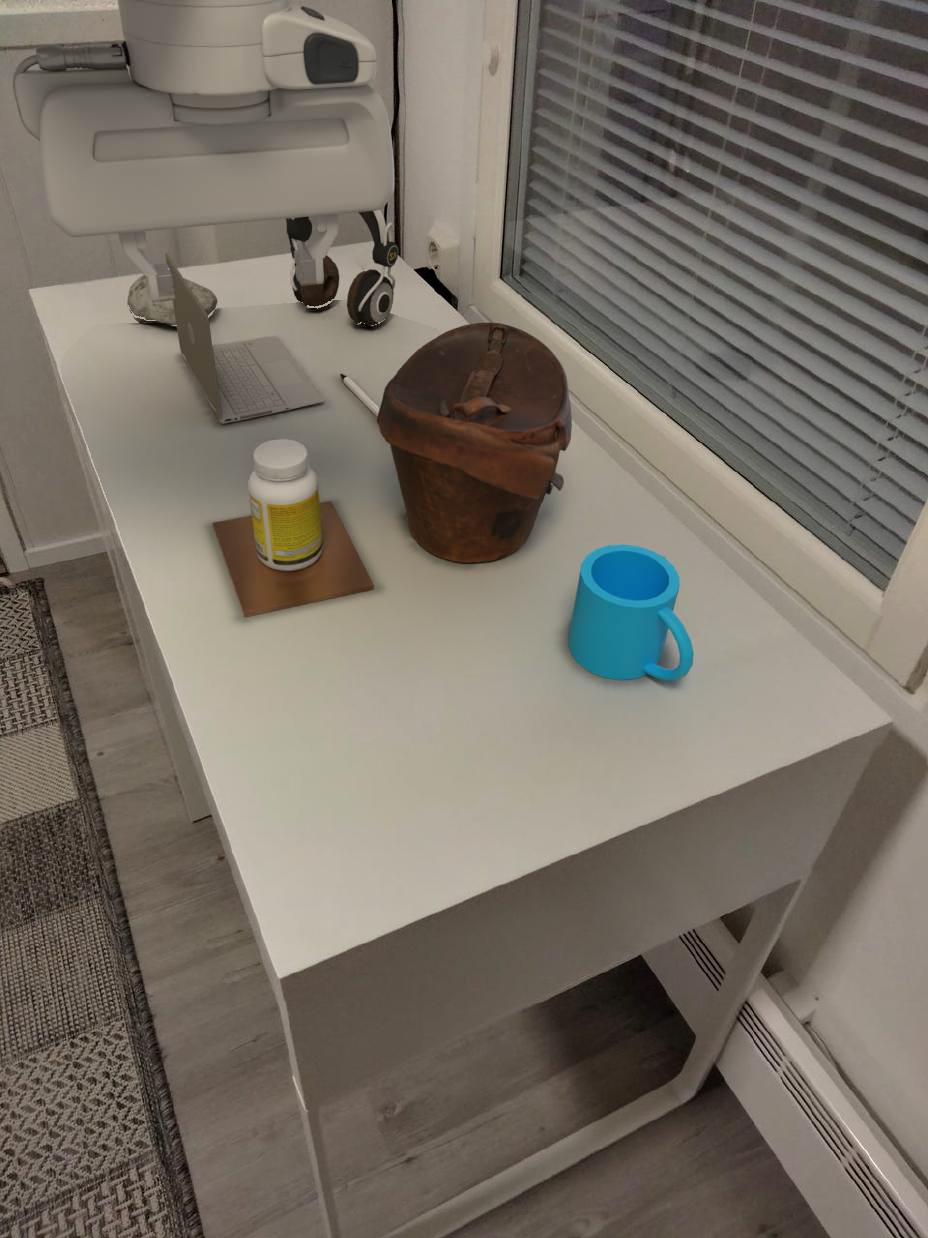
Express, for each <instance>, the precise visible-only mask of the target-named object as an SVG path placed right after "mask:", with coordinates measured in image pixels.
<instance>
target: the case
mask: <svg viewBox="0 0 928 1238" xmlns="http://www.w3.org/2000/svg"><path fill="white" fill-rule="evenodd" d="M571 405H572V404H571V399H570V391H569V382H568V377H567V373H566V370H565V368H564V366H563V365H562V363H561V361H560V360H559V358H558V357H557V355H555V353H554V352H553V351H552V350H551V348H549V347H548V346H547V345H546V344H545V343H543V341H541V340H540V339H538V338H537V337H535V336H534V335H532V334H530V333H529V332H527V331H525V330H523V329H521V328H518V327H515V326H512V325H508V324H505V323H500V322H475V323H469V324H464V325H461V326H458V327H455V328H452V329H449V330H447V331H445V332H442V334H441V333H440V334H439V335H437V336H436V337H435V338H432V339H431V340H430V341H428V342H426V343H425V344H424V345H422V346H421V347H419V348H418V349H417V350H416V351H415V352H414V353H413V354H411V356H410V357H409V358H408V359H407V360H406V361H405V362H404V363H403V364H402V366H401V367H400V368H399V369H398V370H397V372H396V373H395V374H394V376H393V377H392V378H391V379H390V380H389V381H388V382H387V384H386V386H385V387H384V390H383V395H382V399H381V402H380V405H379V408H380V409H379V413H378V417H377V416H376V417H377V418H376V424H377V425H378V428H379V432H380V434H381V436H382V438H383V439H384V440H385V442H386V443H388V444H389V445H390V451H391V454H392V460H393V464H394V468H395V471H396V475H397V480H398V484H399V489H400V492H401V496H402V501H403V504H404V508H405V516H406V518H407V525H408V529H409V532H410V533H411V535H412V537H413V538H414V539H415V540H416V542H417V543H418V544H419V545H420V546H421V547H422V548H423V549H425V550H426V551H427V552H429V553H430V554H432V555H433V556H436V557H438V558H441V559H443V560H446V561H449V562H453V563H454V562H455V563H461V564H463V563H465V564H472V563H473V564H474V563H484V562H491V561H496V560H500V559H502V558H505V557H506V556H509V555H510V554H512V553H514V552H516V551H517V550H518V549H520V548H521V546H523V545H524V544H525V543H526V541H527V540H528V538H529V537H530V535H531V533H532V531H533V528H534V525H535V522H536V520H537V517H538V515H539V512H540V509H541V506H542V504H543V502H544V500H545V497H546V495H548V496H550V495H551V493H552V490H553V487H555V488H556V489H557V490H558V491H559V492H560V491H562V489H563V488H564V483H565V481H564V476H563V475H562V474H560V473H558V472H556V471H557V466H558V462H559V457H560V452H561V451H563V452H565V451H567V449H568V448H569V445H570V443H571V441H572V440H571V439H572V430H573V429H572V428H573V422H572V420H573V418H572V416H573V415H572V406H571Z"/></svg>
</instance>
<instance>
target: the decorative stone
mask: <svg viewBox="0 0 928 1238" xmlns="http://www.w3.org/2000/svg"><path fill="white" fill-rule="evenodd" d="M183 278H184V277H183ZM184 280H185V281H186V283H187V284H188V286H189V287H190V289H191V291H192V292H193V294H194V295H195V297H196V298H197V300H198V301H199V303H200V304H201V306H202V307H203V309H204V310H205V312H206V313H207V315H209V314H210V313H211V312H212V311H213V310H214V309H215V308H217V305H218V298H217V296H216V295H215V293H214V292H213V290H211V289H209V288H207V287H205V286H203V285H201V284H199V283H196V282H194V281H192V280H189V279H187V278H184ZM126 304H127V306H128V305H129V307H130V309H131V310H130V309H129V308H128V310H129V312H130V314H131V315H132V312H133V313H134V315H136V316H139V317H140V316H141V317H145V319H146V320H156V321H146V320H144V319H140V318H135V317H134V316H133V315H132V318H133V319H134V320H135V321H136V322H137V323H139V324H142V323H143V324H153V323H154V324H164V323H166V324H165V325H168V324H170V325H169V326H170V327H172V328H177V326H171V325H176V319H175V313H174V307H173V300H169V301H162V302H154V303H152V302H151V299H150V296H149V293H148V289H147V284H146V278H145V276H144V275H143V274H142V275H141V276H139V277H138V278H137V279H136V280H135V281H134V282H133V283H132V284H131V286H130V287H129V290H128V295H127V302H126ZM215 310H216V309H215ZM131 311H132V312H131ZM212 316H213V315H212ZM212 316H210V317H209V320H210V319H211V318H212Z"/></svg>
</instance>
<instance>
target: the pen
mask: <svg viewBox="0 0 928 1238" xmlns="http://www.w3.org/2000/svg"><path fill="white" fill-rule="evenodd" d="M339 376H340V378H341V381H342V382H343V383H344V385H345V386H346V387H348V388H349V390H350V391H351V392H352V393H353V394H354V395H355V396H356V397H357V398H358V399H359V400H360V402H361V403H363V404H364V405H365V406H366V407H367V408H368V409H369V410H370V411H371V412H372V413H373V414H374V416H376V417H378V413H379V409H380V406H379V405H377V404H376V403H375V402H374V401H373V400H372V399H371V398H370V396H368V395H367V394H366V393H365V392H364V390H362V389H361V388H360V387H359V386H358V385H357V384H356V382H354V381H353V380H352V379H351V378H350V377H349V376H347V375H345V374H343V373H339Z"/></svg>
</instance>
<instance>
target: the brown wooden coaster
mask: <svg viewBox="0 0 928 1238" xmlns="http://www.w3.org/2000/svg"><path fill="white" fill-rule="evenodd" d="M319 503H320V517H321V531H322V553H321V555H320V557H319V558H318V559H317V560H316V561H315V562H314V563H313V564H311V565H310V566H308V567H305V568H303V569H299V570H295V571H280V570H276V569H272V568H270V567H268V566H266V565H265V564H264V563H262V562H261V560H260V559H259V557H258V555H257V551H256V545H255V537H254V529H253V521H252V514H251V515H247V516H240V517H237V518H236V517H235V518H230V519H224V520H220V521H214V522H211V523H212V528H213V531H214V534H215V537H216V540H217V542H218V546H219V549H220V551H221V554H222V557H223V560H224V563H225V566H226V569H227V572H228V575H229V578H230V581H231V583H232V586H233V589H234V592H235V595H236V598H237V601H238V604H239V608H240V609H241V612H242V616H243V617H244V618H248V617H251V616H256V615H261V614H264V613H266V614H267V613H270V612H274V611H275V612H276V611H280V610H285V609H288V608H293V607H298V606H301V605H302V606H303V605H308V604H312V603H316V602H321V601H325V600H330V599H335V598H339V597H344V596H348V595H353V594H357V593H363V592H368V591H372V590H374V589H375V587H374V586H375V585H374V583H373V581H372V578H371V577H370V575H369V573H368V571H367V568H366V567H365V565H364V562H363V561H362V559H361V557H360V555H359V553H358V551H357V549H356V547H355V545H354V543H353V541H352V539H351V537H350V536H349V533H348V531H347V530H346V528H345V526H344V524H343V522H342V520H341V518H340V516H339V513H338V512H337V510H336V508H335V505H334V504H333V502H332V500H327V501H322V502H319Z"/></svg>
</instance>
